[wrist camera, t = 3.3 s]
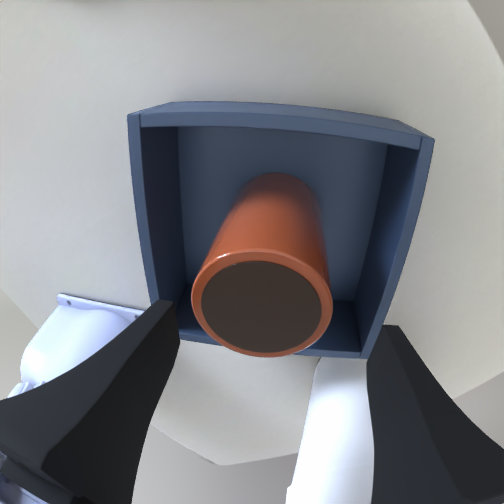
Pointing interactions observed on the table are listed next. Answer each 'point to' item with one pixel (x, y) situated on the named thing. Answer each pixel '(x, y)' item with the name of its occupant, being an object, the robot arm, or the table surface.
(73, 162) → the table surface
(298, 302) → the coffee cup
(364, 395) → the foam cup
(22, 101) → the table surface
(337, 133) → the tote
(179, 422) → the table surface
